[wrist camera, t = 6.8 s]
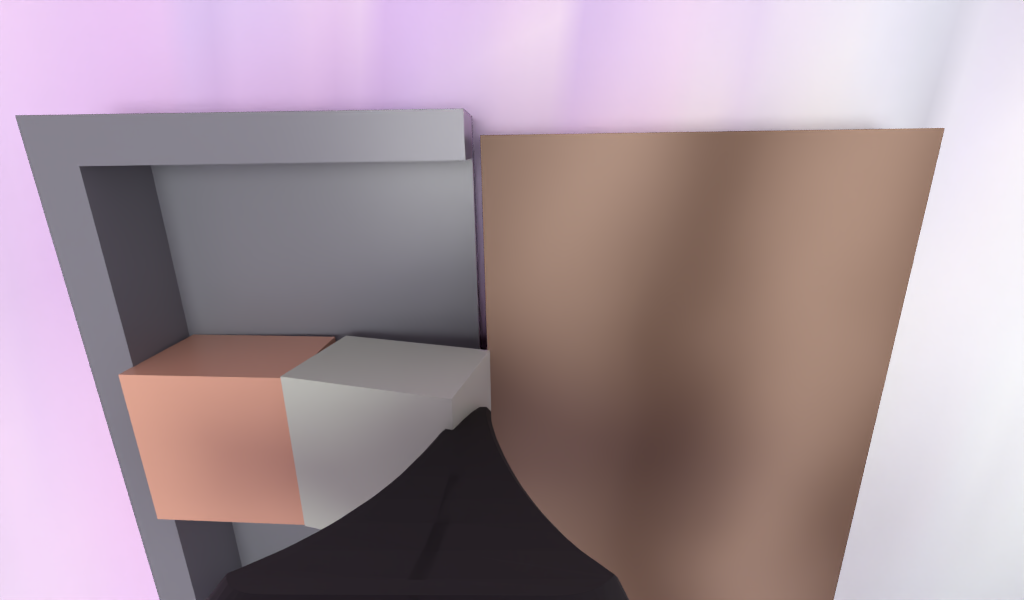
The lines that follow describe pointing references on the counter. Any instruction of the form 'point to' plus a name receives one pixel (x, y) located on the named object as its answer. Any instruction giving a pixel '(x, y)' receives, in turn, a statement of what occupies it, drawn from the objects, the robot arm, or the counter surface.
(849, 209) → the walnut board
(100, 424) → the counter surface
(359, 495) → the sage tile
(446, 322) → the tray
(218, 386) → the terracotta tile
